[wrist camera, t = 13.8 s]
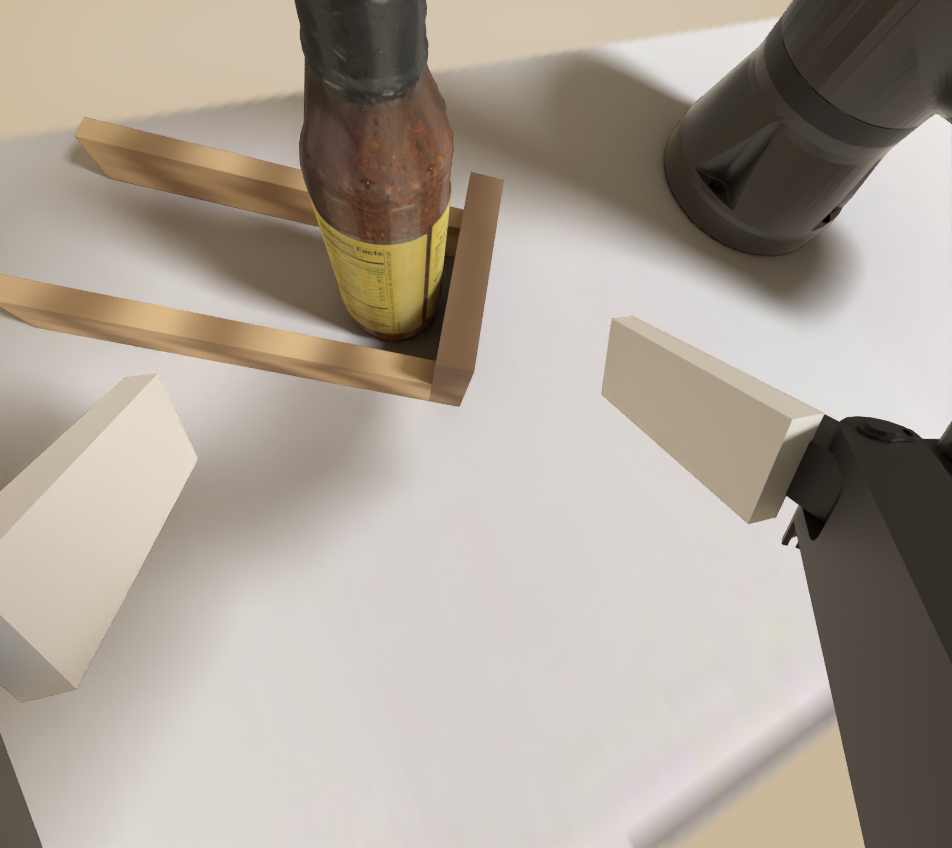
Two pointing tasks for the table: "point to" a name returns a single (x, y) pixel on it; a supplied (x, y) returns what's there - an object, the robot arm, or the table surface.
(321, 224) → the sauce bottle
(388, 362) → the oak guide channel
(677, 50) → the table surface
